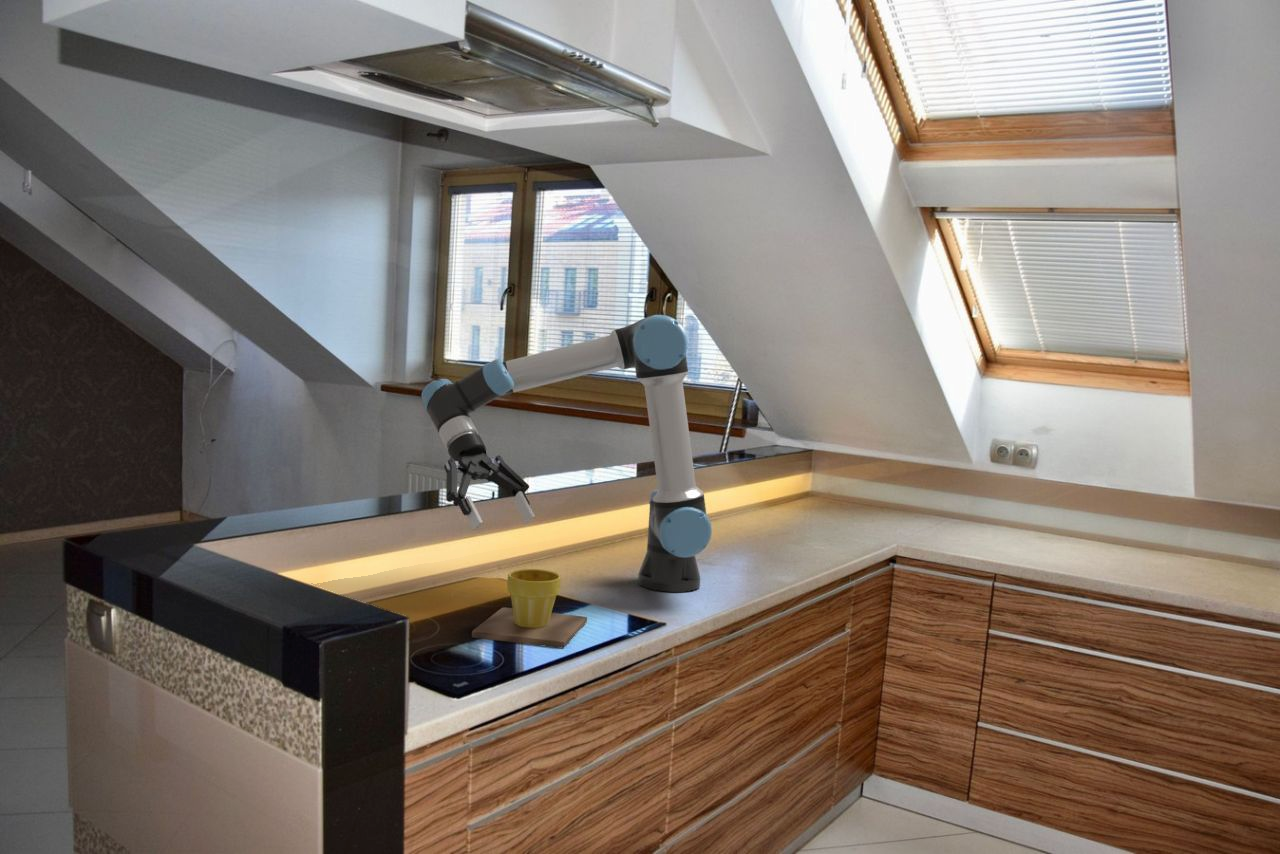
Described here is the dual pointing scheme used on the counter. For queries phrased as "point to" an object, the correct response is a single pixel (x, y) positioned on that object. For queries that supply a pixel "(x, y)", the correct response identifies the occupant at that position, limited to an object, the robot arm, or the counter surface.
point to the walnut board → (530, 629)
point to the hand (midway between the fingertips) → (505, 523)
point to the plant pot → (533, 596)
